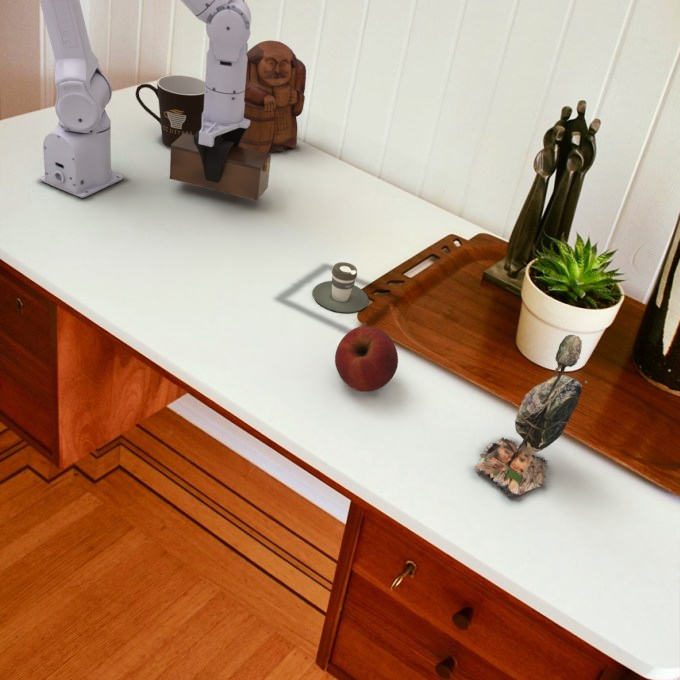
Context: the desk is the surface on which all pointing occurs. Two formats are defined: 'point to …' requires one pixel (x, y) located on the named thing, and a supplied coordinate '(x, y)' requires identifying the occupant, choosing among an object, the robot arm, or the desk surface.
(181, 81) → the coffee mug
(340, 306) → the coffee cup
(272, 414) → the desk surface
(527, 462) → the plant with pod
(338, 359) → the apple
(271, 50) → the wooden figurine
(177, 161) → the pencil box
